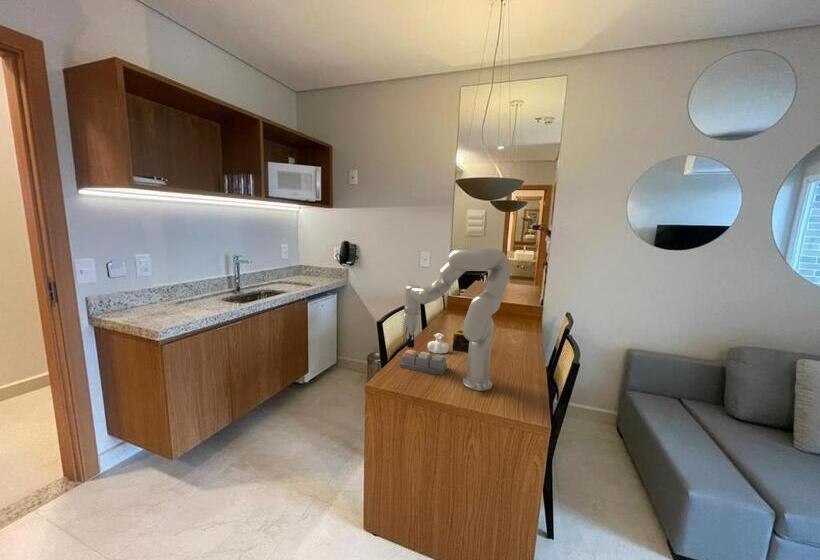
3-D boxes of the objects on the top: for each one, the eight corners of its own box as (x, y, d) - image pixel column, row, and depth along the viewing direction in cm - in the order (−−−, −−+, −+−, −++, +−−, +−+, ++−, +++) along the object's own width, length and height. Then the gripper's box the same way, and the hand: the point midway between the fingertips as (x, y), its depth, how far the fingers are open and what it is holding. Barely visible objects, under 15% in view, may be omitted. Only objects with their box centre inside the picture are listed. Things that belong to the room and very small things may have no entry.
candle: (470, 352, 185) (471, 335, 183) (452, 350, 186) (453, 333, 185) (470, 346, 194) (471, 330, 193) (453, 344, 196) (454, 328, 195)
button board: (446, 367, 163) (447, 357, 162) (442, 375, 155) (442, 363, 154) (406, 360, 170) (407, 350, 169) (400, 367, 162) (400, 356, 161)
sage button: (443, 361, 161) (443, 355, 161) (441, 364, 157) (441, 358, 156) (434, 360, 162) (435, 353, 162) (432, 363, 158) (432, 357, 158)
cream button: (429, 359, 163) (429, 353, 163) (426, 362, 159) (427, 356, 159) (421, 357, 165) (421, 351, 164) (418, 360, 161) (418, 354, 160)
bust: (448, 356, 184) (450, 337, 189) (448, 352, 177) (450, 332, 183) (427, 354, 186) (429, 335, 191) (426, 350, 179) (428, 330, 185)
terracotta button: (416, 356, 166) (416, 350, 165) (413, 360, 161) (413, 353, 161) (407, 355, 167) (408, 349, 167) (404, 358, 163) (404, 352, 162)
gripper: (410, 306, 169) (408, 341, 172) (399, 313, 155) (397, 350, 158) (424, 308, 166) (422, 343, 169) (414, 315, 152) (412, 353, 155)
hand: (410, 346), depth 163 cm, fingers closed
